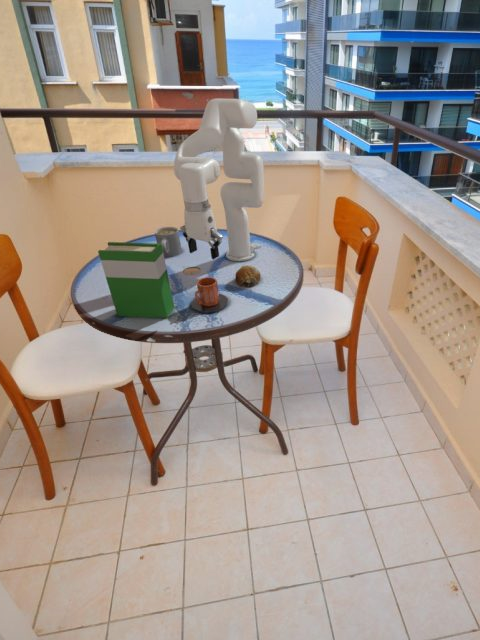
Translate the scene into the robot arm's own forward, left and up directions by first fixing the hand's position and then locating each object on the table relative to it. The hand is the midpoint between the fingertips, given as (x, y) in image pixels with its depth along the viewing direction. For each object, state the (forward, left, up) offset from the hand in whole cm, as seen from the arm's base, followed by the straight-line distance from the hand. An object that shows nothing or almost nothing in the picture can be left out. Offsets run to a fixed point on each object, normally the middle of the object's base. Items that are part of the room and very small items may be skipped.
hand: (204, 254), depth 141 cm
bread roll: (-18, -7, -18) cm, 27 cm away
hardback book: (+22, -4, -18) cm, 29 cm away
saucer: (+1, +2, -18) cm, 18 cm away
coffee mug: (+2, -49, -18) cm, 52 cm away
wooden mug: (+2, +3, -17) cm, 18 cm away
